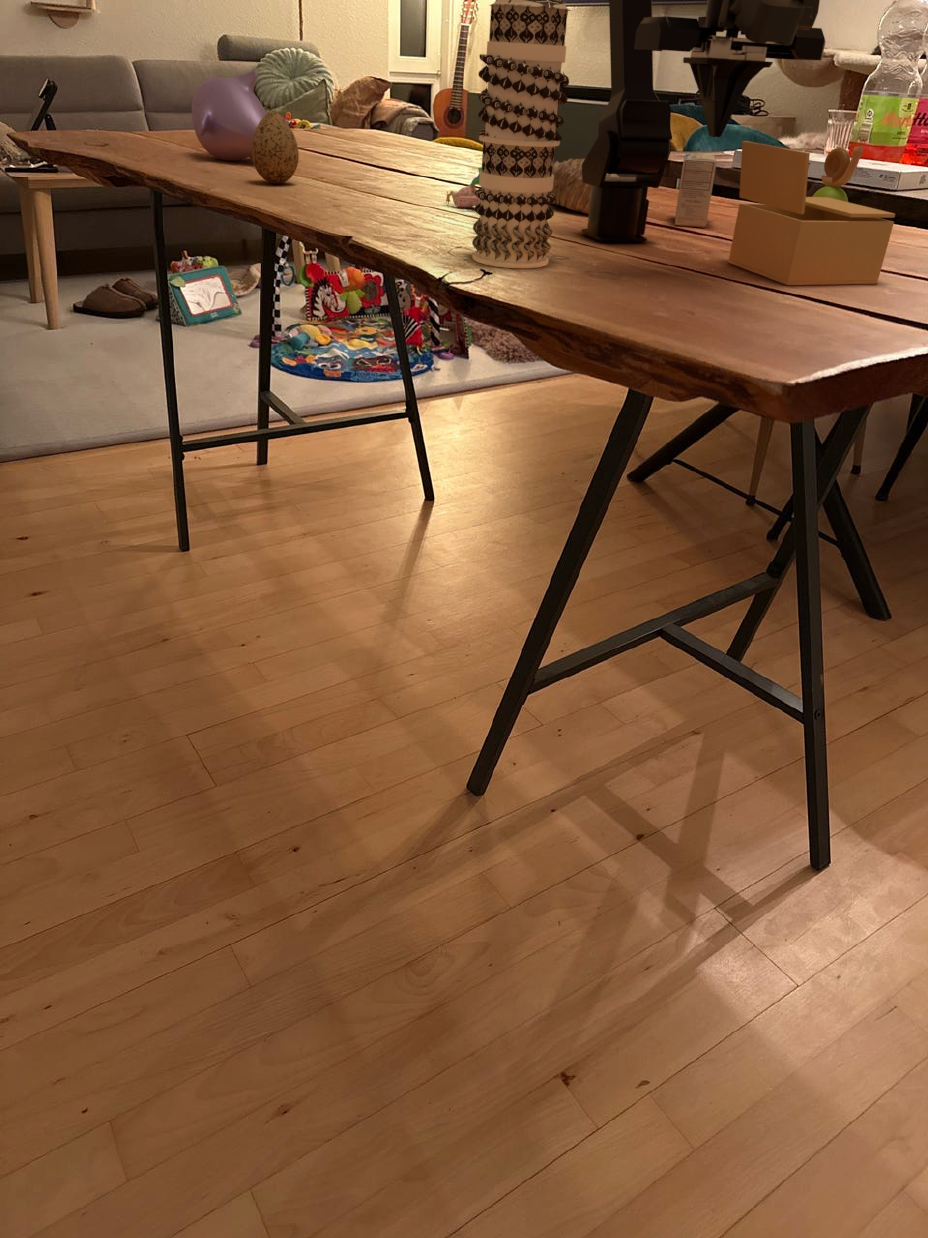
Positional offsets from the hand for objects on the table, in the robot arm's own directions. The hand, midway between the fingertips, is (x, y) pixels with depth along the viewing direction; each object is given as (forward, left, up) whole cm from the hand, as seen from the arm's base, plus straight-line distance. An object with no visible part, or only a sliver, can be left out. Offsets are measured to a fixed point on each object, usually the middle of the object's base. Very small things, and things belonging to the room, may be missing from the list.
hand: (714, 136), depth 97 cm
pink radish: (-11, +39, -14) cm, 42 cm away
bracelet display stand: (-20, +6, -13) cm, 25 cm away
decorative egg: (-37, +65, -14) cm, 76 cm away
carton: (+13, -2, -13) cm, 19 cm away
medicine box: (+17, +31, -14) cm, 38 cm away
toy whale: (-40, +92, -14) cm, 101 cm away
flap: (+7, -2, -3) cm, 8 cm away
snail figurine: (+39, +29, -14) cm, 50 cm away
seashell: (+5, +42, -14) cm, 44 cm away
